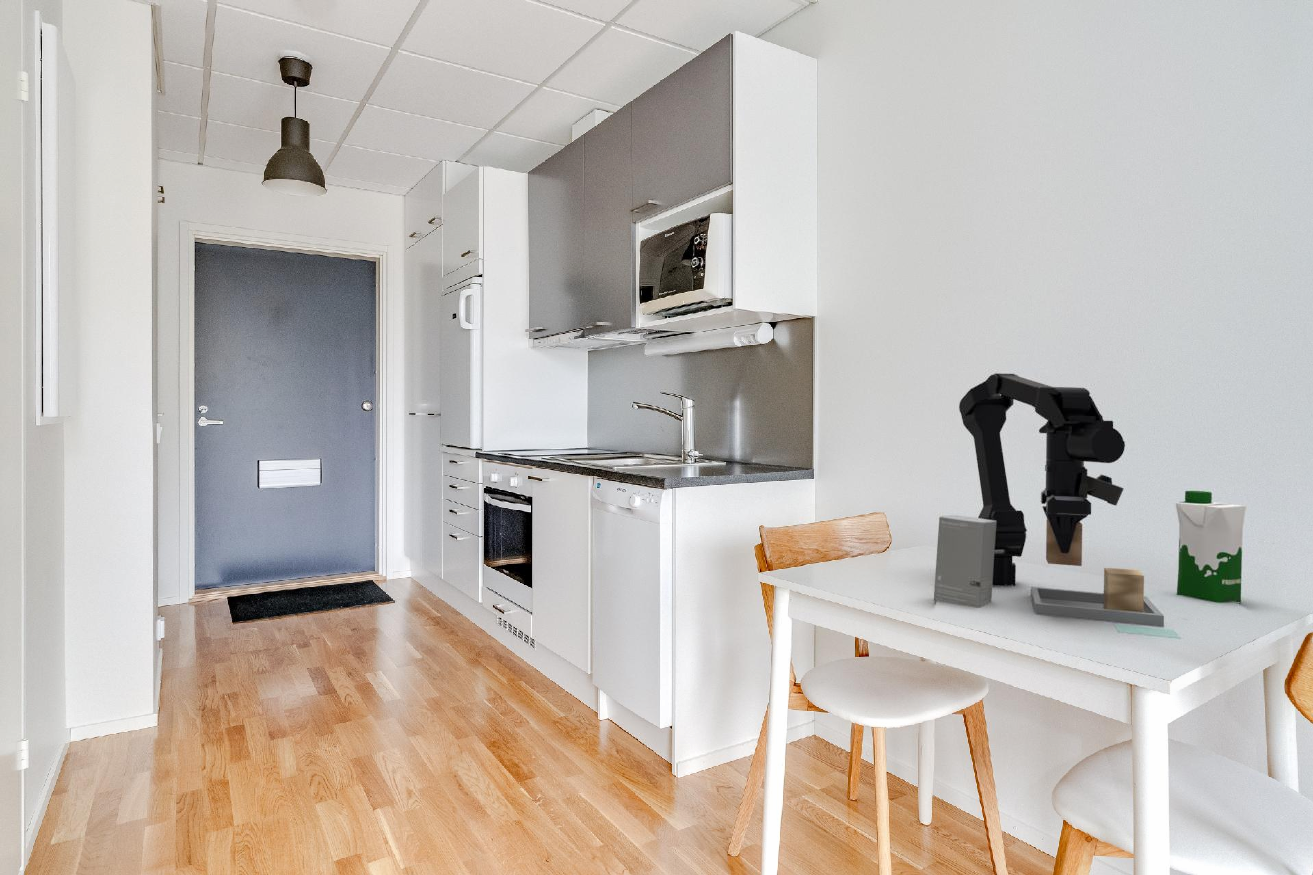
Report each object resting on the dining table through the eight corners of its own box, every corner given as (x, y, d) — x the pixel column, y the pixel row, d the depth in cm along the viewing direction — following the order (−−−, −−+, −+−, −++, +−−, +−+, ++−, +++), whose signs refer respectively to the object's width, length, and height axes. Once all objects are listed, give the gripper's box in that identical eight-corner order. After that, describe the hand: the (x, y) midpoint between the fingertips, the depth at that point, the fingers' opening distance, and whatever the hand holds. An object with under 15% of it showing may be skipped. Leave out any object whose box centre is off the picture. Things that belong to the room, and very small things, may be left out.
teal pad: (1118, 636, 113) (1118, 631, 113) (1113, 628, 117) (1113, 623, 117) (1181, 643, 109) (1181, 638, 109) (1173, 634, 114) (1173, 629, 114)
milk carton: (1197, 593, 142) (1199, 489, 142) (1250, 604, 134) (1253, 494, 133) (1168, 597, 139) (1170, 491, 138) (1221, 608, 130) (1223, 496, 130)
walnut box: (1048, 563, 126) (1048, 521, 126) (1046, 558, 131) (1046, 518, 130) (1081, 565, 124) (1082, 523, 124) (1078, 561, 129) (1079, 519, 128)
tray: (1034, 618, 123) (1035, 603, 123) (1030, 600, 136) (1030, 586, 136) (1163, 631, 116) (1163, 615, 116) (1146, 610, 128) (1146, 596, 128)
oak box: (1107, 614, 123) (1108, 572, 123) (1103, 607, 127) (1104, 567, 127) (1143, 618, 121) (1144, 575, 120) (1137, 611, 125) (1138, 570, 125)
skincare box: (933, 604, 132) (934, 516, 132) (948, 597, 138) (949, 512, 137) (981, 612, 127) (983, 521, 126) (995, 605, 132) (997, 517, 132)
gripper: (1129, 464, 115) (1127, 563, 115) (1111, 459, 132) (1109, 545, 132) (1048, 462, 120) (1047, 558, 120) (1041, 457, 137) (1040, 541, 137)
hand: (1063, 550), depth 127 cm, fingers closed on walnut box, 5 cm apart
